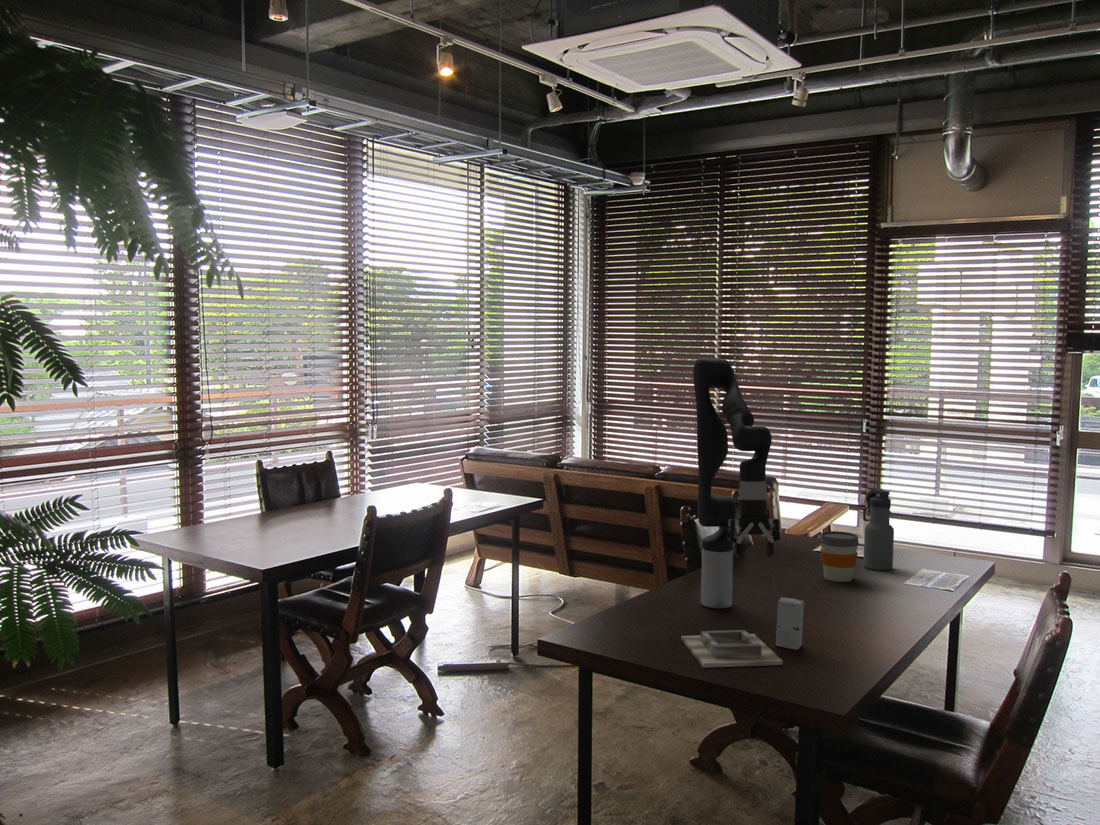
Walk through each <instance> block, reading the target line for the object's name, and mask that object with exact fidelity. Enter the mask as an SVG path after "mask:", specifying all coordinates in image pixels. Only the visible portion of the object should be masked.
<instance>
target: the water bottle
mask: <svg viewBox="0 0 1100 825" xmlns="http://www.w3.org/2000/svg"><path fill="white" fill-rule="evenodd" d="M877 495H879V496H877ZM889 496H890V491H889V490H886V489H872V490H871V489H870V490H869V491H868V492H867V493H866V495H865V499H864V500H865V502H866V504H867V506H865V507H864V508H863V510H862V511H863V512H862V519H863V520H862V521H864V522H869V523H867V524H866V525H865V526H864V538H863V539H864V540H863V542H864V543H863V566H864V567H865V568H866V569H868V568H869V570H872V569H874V571H880V570H886V571H889V570H892V569H893V564H894V561H893V560H894V540H895V539H894V538H895V528H894V527H893V526H892V525H891V524H890V517H891V516H890V515H891V514H890V512H891V506H892V505H891V502H892V499H891V498H889ZM867 510H870V511H869V514H870V515H869V519H867V518H866V516H867V515H866V514H867V513H866V512H867Z"/></svg>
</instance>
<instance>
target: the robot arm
mask: <svg viewBox="0 0 1100 825" xmlns="http://www.w3.org/2000/svg"><path fill="white" fill-rule="evenodd" d="M692 372H693V373H692V374H693V376H692V378H693V388H694V396H695V407H696V448H697V467H698V470H697V471H698V484H697V485H698V486H697V487H698V488H697V518H698V522H699V524H700V526H701V527H704V528H705V527H706V528H711V527H712V528H715V527H716V528H717V527H719V529H718V530H717V531H715V532H713V533H712V534H710V535H708V536H705V537H703V538H702V542H701V578H700V579H701V586H700V589H701V590H700V605H702V606H704V607H707V608H711V609H728V608H731V607H732V605H733V602H732V601H733V568H734V567H733V565H734V564H733V562H734V561H733V559H734V558H733V557H734V555H735V556H736V557H737V558H742V557H743V555H742V554H743V553H742V552H743V551H742V543H741V542H742V541H743V539H745V537H747V535H748V536H753V535H757V536H759V535H761V536H762V537H763V538H764V539H765V541H766V542H765V544H766V545H765V547H766V548H765V551H766V557H770V558H771V557H772V556H773V555H774V551H775V550H774V544H775V542H778V541H780V540H781V532H780V520H779V519H778V518H771V519H770V518H768V490H767V489H768V488H767V478H766V475H767V473H766V469H767V468H766V467H767V463H768V462H767V461H768V457H769V453H770V449H771V446H772V441H773V440H772V439H773V438H772V437H773V436H772V434H771V431H770V430H769V428H768V427H766V426H763V425H754V423H755V417H754V415H753V413H752V412H751V410H750V408H749V406H748V405H747V403H746V400H744V397H743V395H742V393H741V392H742V391H741V389H740V386H739V384H738V380H737V377H736V374H735V371H734V369H733V367H732V364H731V363H730V361H728V360H727V359H724V358H713V357H712V358H710V357H703V358H697V359H696V360H695V361H694V365H693V370H692ZM710 389H722V390H723V391H724V392H725V395H724V398H723V401H722V404H721V407H722V408H721V409H722V413H723V415H724V417H725V419H726V421H727V423H728V424H729V428H730V432H731V439H732V444H733V446H734V448H735V449H737V450H738V451H741V452H754V454H753V456H752V457H751V458H749V459H744V460H742V461H741V462H740V463H739V485H738V486H739V487H738V500H739V501H738V502H739V503H738V504H739V505H738V507H739V512H738V513H739V518H738V519H736V518H737V517H736V516H737V508H736V502H735V500H734V498H733V497H732V496H729V495H712V488H713V482H714V480H715V478H716V475H717V474H718V471H719V470H720V468H721V467H722V465H723V464H724V462H725V460H726V459H727V456H728V452H729V441H728V440H729V438H728V435H729V434H728V429H727V427H726V425H725V423H724V422H723V420H722V418H721V416H720V415H719V414H718V412H717V410H716V408H715V407H714V405H713V403H712V402H713V401H712V398H711V395H710ZM768 525H769V526H770V527H771V534H772V535H771V534H770V532H769V531H768V530H767V527H768ZM738 526H739V527H740V529H739V531H738V532H737V535H736V536H735V532H736V530H735V529H736V528H737V527H738Z"/></svg>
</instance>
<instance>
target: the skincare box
mask: <svg viewBox="0 0 1100 825" xmlns="http://www.w3.org/2000/svg"><path fill="white" fill-rule="evenodd" d="M804 607H805V601H804V600H801V599H796V598H789V597H783V596H781V597H780V599H778V601H777V610H776V611H777V612H776V613H777V614H776V630H775V631H776V633H775V634H776V635H775V646H777V647H780V648H781V647H782V648H786V649H791V650H796V651H797V650H799V649H800V648H801V647H802V643H803V630H804V628H803V627H804V626H803V625H804V609H805V608H804Z"/></svg>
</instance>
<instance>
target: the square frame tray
mask: <svg viewBox="0 0 1100 825" xmlns="http://www.w3.org/2000/svg"><path fill="white" fill-rule="evenodd" d="M681 641H682V642H683V644H684V645H685V646H686V647H687V649H688V650H689V651H690V653H691V654H692V655H693V656H694V658H695V659H696V660H697V662H698V663H699V665H700V666H701V667H702V668H705V669H706V668H725V667H727V668H728V667H729V668H731V667H734V668H735V667H760V666H762V667H763V666H765V667H766V666H782V665H784V664H783V662H784V661H783V660H782V659H781V658H780V657H779V656H778V655H777V654H776V653H775V652H774V651H773V650H772V649H770V648H771V647H768V646H767V644H766V643H764V642H763V641H762V640H761V638H759V637H758V636H757V635H756V634H755V633H749V632H748V631H747V630H746V629H739V630H737V629H735V630H733V629H732V630H704V631H703V630H701V631H700V634H699V635H681Z"/></svg>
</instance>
